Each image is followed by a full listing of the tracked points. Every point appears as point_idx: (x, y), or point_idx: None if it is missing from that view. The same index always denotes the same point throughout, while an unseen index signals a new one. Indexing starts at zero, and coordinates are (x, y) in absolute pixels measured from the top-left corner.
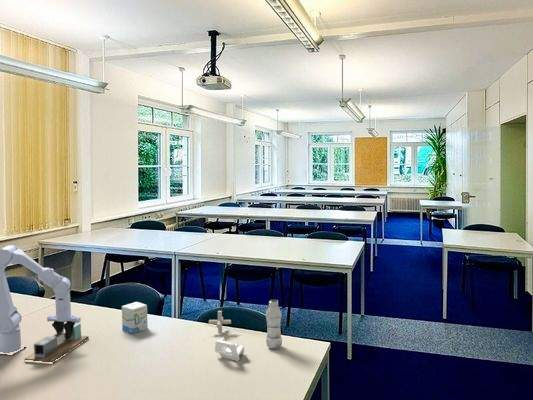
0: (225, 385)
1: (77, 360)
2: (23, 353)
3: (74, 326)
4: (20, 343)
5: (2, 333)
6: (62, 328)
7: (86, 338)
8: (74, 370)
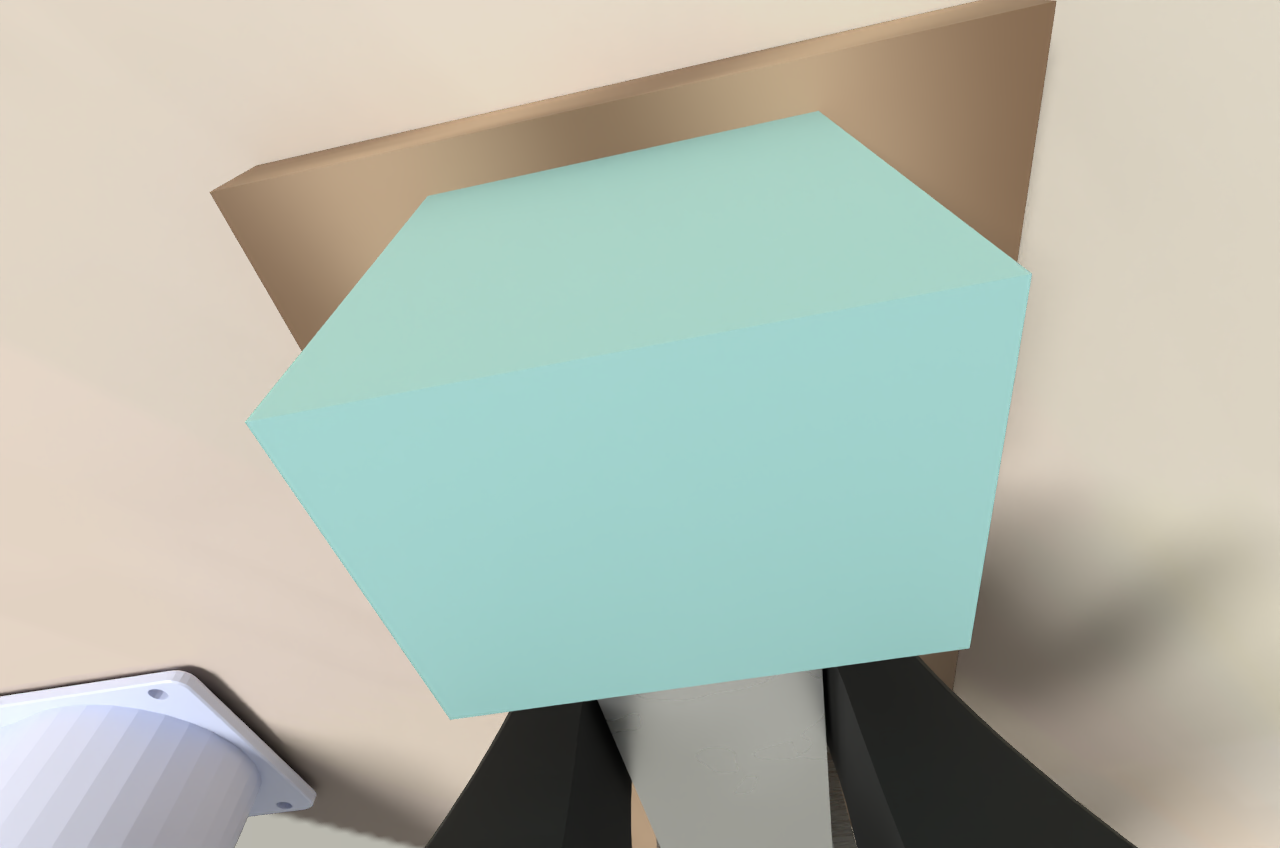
0: None
1: (1180, 667)
2: (357, 738)
3: (928, 616)
4: (172, 817)
5: None
6: (591, 762)
7: (1021, 119)
8: (1234, 770)
